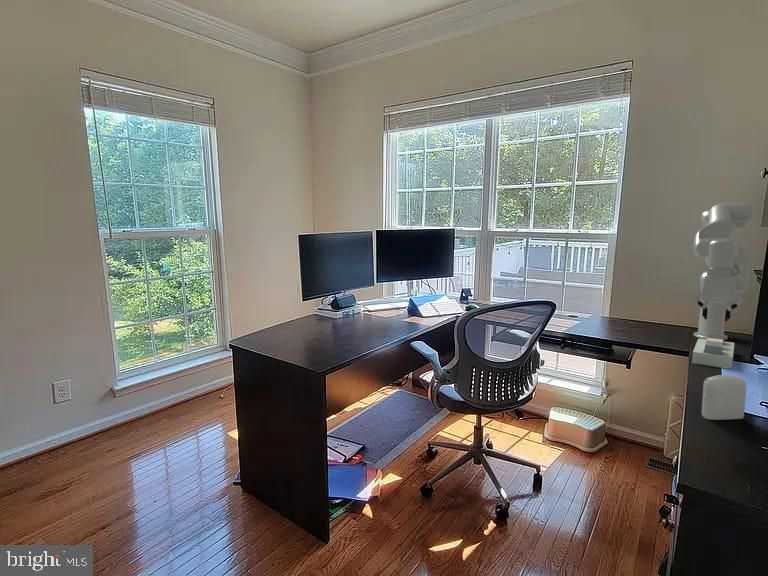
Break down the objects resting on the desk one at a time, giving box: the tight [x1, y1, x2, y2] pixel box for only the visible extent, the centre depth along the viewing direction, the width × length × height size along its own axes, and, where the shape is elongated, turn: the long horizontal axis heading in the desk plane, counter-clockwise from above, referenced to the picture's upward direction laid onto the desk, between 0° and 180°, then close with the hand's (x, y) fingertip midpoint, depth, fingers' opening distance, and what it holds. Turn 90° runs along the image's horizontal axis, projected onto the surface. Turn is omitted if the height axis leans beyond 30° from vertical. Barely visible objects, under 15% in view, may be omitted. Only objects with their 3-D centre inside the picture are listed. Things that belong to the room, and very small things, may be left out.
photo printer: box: [700, 374, 747, 421], centre depth 118 cm, size 10×4×12 cm, turn 90°
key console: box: [691, 338, 735, 369], centre depth 169 cm, size 24×12×4 cm, turn 139°
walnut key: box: [708, 334, 725, 342], centre depth 175 cm, size 5×5×4 cm
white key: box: [706, 338, 723, 347], centre depth 169 cm, size 5×5×4 cm
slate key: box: [704, 342, 722, 355], centre depth 163 cm, size 5×5×4 cm
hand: (715, 319), depth 161 cm, fingers open, 5 cm apart
